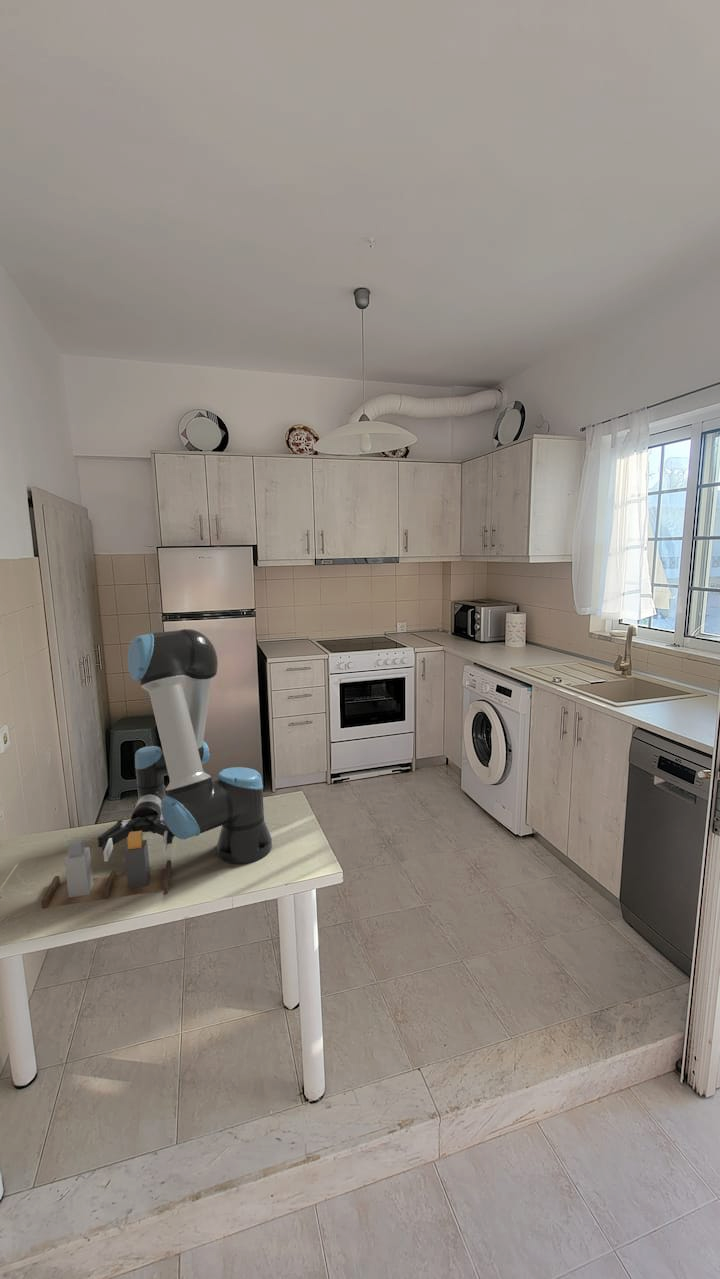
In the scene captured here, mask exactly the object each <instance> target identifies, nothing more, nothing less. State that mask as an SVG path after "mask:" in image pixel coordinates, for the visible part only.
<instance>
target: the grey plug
mask: <svg viewBox="0 0 720 1279" xmlns="http://www.w3.org/2000/svg"><path fill="white" fill-rule="evenodd" d="M66 847H67V854H66V856H65V857H64V860H63V861H64V868H65V877H66V882H67V886H68V894H69V898H70V897H77V896H84V895H89V894H90V891H91V889H92V886H93V878H94V877H93V876H94V875H93V868H92V858H91V851H90V850H91V849H90V847H89V846H88V847H86V844H85V838H84V837H82V838H74V839H70V840H69V842H68V844H67V846H66Z"/></svg>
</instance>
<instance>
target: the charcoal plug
mask: <svg viewBox="0 0 720 1279" xmlns="http://www.w3.org/2000/svg"><path fill="white" fill-rule="evenodd" d="M143 834H144V833H143V832H142V831H134V832H129V835H128V837H126V840H127V844H126V847H125V849H124V858H125V867H126V868H125V869H126V873H127V880H128V889H130V888H137V887H144V886H148V882H149V879H150V870H151V869H150V868H151V867H150V860H149V858H150V856H149V847H148V840H147V839H144V835H143Z"/></svg>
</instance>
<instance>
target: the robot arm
mask: <svg viewBox="0 0 720 1279" xmlns="http://www.w3.org/2000/svg"><path fill="white" fill-rule="evenodd" d="M127 667H128V673H129V675H130V677H131V679H132V680H133V681H137V682H140V687H141V689H143V690H145V691H147V692H148V695H149V697H150V702H151V706H152V710H153V716H154V718H155V724H156V727H157V732H158V737H159V740H160V744H161V747H159V746H156V745H150V746H144V747H140V748H139V749H138V750H136V751H135V754H134V768H135V775H136V776H135V777H136V783H137V784H136V785H137V795H138V797H137V801H136V804H135V807H134V809H133V811H132V814H131V818H130V819H129V820H128V822H123V820H122V819H121V820H120V819H119V820H117V822H116V823H115V824H114V825H112V827H110V828H109V829H108V830H107V831H105V832H104V833H102V834H101V835H99V836H98V837H97V842H98V848H102V853H103V860H104V862H108V861H109V859H110V857H111V854H112V852H113V849H114V845H116V844H118V843H119V842H122V840H125V839H127V837H128V835H129V832H134V831H142V833H150V832H151V833H152V834H158V835H160V836H162V837H163V838H162V842H161V849H162V854H163V855H164V854H167V850H168V845H170V844H172V843H173V841H174V840H173V839H174V838H175V837H176V838H177V839H180V840H187V839H189V838H193V837H198V836H200V835H201V834H204V833H206V832H209V831H211V830H214V829H216V828H219V827H221V829H220V831H219V835H218V836H219V837H218V840H217V842H216V852H217V854H216V855H217V856H218V858H219V859H220V860H221V861H223V862H226V863H228V864H237V865H238V864H241V865H242V864H248V863H252V861H253V862H256V861H258V860H260V859H263V858H264V857H266V856H268V854H269V853H270V852H271V851H272V848H273V842H272V841H273V840H272V839H273V838H272V835H271V833H270V831H269V828H268V826H267V824H266V821H265V811H264V809H265V808H264V793H263V791H264V790H263V789H264V785H263V779H262V775H261V774H260V772H258V771H257V770H256V769H253V768H250V767H243V766H240V767H239V766H235V767H228V768H227V767H226V768H224V769H222V770H220V771H219V772H218V774H217V780H214V781H213V780H212V777H211V775H210V774H208V773H206V772H205V771H204V768H203V764H206V763H208V761H209V759H210V756H211V755H210V749H209V746H208V744H207V742H205V741H204V738H205V731H206V724H207V716H208V710H209V703H210V697H211V690H212V683H213V678H215V677H216V675H217V672H218V656H217V651H216V648H215V647H214V645H213V643H212V641H210V639H209V638H208V637H207V636H206V635H205V634H203V633H202V632H200V631H197V630H195V629H191V628H187V629H185V628H184V629H180V630H178V629H177V630H171V631H160V632H149V633H147V634H142V635H137V636H135V637H134V638H133V639H132V640H131V642H130V644H129V646H128V650H127ZM183 684H184V686H183ZM165 776H168V777H169V778H168V780H169V783H168V785H167V786H166V785H165V778H164V777H165ZM161 815H162V817H161Z"/></svg>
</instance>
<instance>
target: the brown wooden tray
mask: <svg viewBox="0 0 720 1279" xmlns="http://www.w3.org/2000/svg"><path fill="white" fill-rule="evenodd" d="M172 867H173V866H172V859H168V860H166V865H165V867H163V868H162V867H161V868H156V869H155V868H154V869H150V879H149V882H148V886H144V887H137V888H130V889H128V880H127V872H126V873H119V874H118V871H117V867H113V868H111V869H110V872H109V875H105V876H99V877H93V886H92V889H91V891H90V894H89V895H84V896H77V897H70V898H69V894H68V886H67V881H66V882H65V881H63V882H61V880H60V875H55V876H54V877H53V879H52V880H51V883H50V884H49V886H48V888H47V889H46V892H45V893H44V895H43V897H42V899H41V907H42V909H46V908H53V907H54V908H55V907H60V906H67V905H73V904H74V905H75V904H80V903H87V902H93V901H94V902H95V901H102V900H106V899H114V898H120V897H128V896H133V895H139V894H140V895H141V894H145V893H147V894H149V893H154V892H160V891H161V892H162V891H163V893H162V894H168V893H169V888H170V883H171V882H170V881H171V877H172V873H173V868H172Z"/></svg>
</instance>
